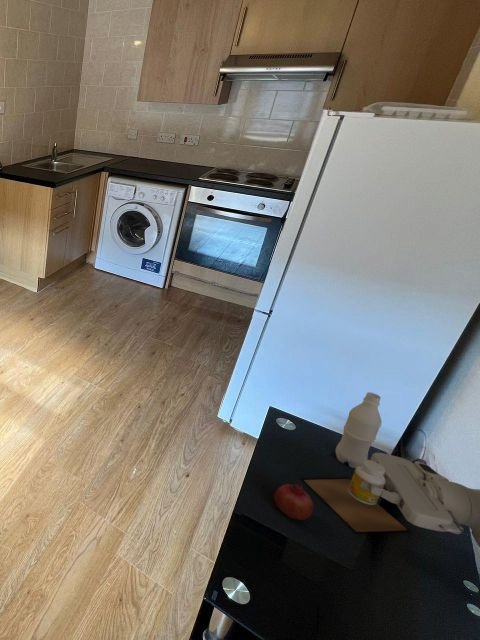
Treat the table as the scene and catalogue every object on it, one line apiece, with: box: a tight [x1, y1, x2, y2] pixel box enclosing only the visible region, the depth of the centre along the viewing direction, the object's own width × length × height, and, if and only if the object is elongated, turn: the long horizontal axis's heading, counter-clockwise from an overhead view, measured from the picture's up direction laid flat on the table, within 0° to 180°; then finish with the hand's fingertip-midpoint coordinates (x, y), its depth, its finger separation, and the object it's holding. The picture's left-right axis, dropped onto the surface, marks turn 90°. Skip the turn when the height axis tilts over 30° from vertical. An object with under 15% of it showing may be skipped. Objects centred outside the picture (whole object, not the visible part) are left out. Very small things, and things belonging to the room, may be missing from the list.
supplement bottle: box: [348, 459, 385, 505], centre depth 100 cm, size 5×5×10 cm
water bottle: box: [334, 392, 382, 469], centre depth 123 cm, size 7×7×25 cm
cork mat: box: [303, 478, 408, 533], centre depth 112 cm, size 16×14×1 cm
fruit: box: [273, 483, 314, 521], centre depth 108 cm, size 8×8×10 cm
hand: (364, 477), depth 101 cm, fingers closed on supplement bottle, 5 cm apart
